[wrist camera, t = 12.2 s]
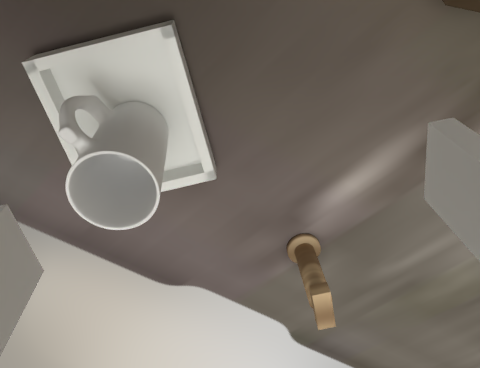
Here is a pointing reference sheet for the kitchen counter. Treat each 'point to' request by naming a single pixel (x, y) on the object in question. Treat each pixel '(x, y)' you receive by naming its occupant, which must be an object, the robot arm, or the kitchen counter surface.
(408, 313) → the kitchen counter surface
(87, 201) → the mug
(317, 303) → the post
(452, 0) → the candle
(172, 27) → the tray
